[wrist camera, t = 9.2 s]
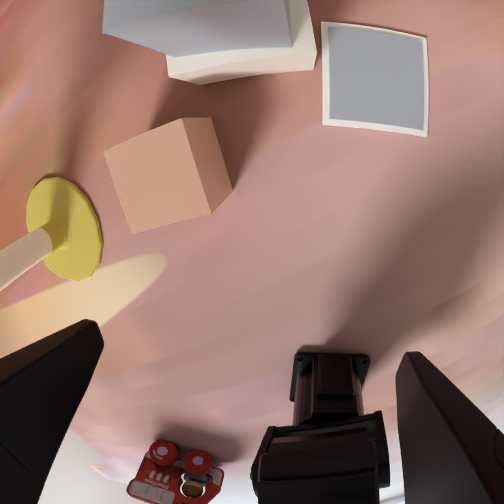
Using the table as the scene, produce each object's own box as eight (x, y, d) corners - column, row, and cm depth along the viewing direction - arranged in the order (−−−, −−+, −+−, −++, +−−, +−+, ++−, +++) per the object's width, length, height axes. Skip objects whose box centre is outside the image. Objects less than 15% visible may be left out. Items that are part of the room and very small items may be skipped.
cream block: (313, 70, 15) (316, 52, 11) (201, 85, 17) (168, 76, 12) (295, -23, 13) (292, -60, 8) (189, -4, 14) (157, -32, 10)
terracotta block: (233, 190, 19) (211, 213, 15) (167, 208, 21) (132, 234, 16) (211, 117, 18) (181, 118, 13) (145, 141, 19) (103, 151, 14)
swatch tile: (426, 137, 16) (428, 137, 15) (322, 124, 17) (322, 125, 16) (424, 38, 13) (427, 37, 12) (320, 22, 14) (321, 20, 13)
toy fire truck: (226, 472, 38) (211, 526, 28) (151, 451, 39) (130, 501, 30) (228, 455, 35) (211, 518, 25) (145, 432, 36) (119, 488, 27)
